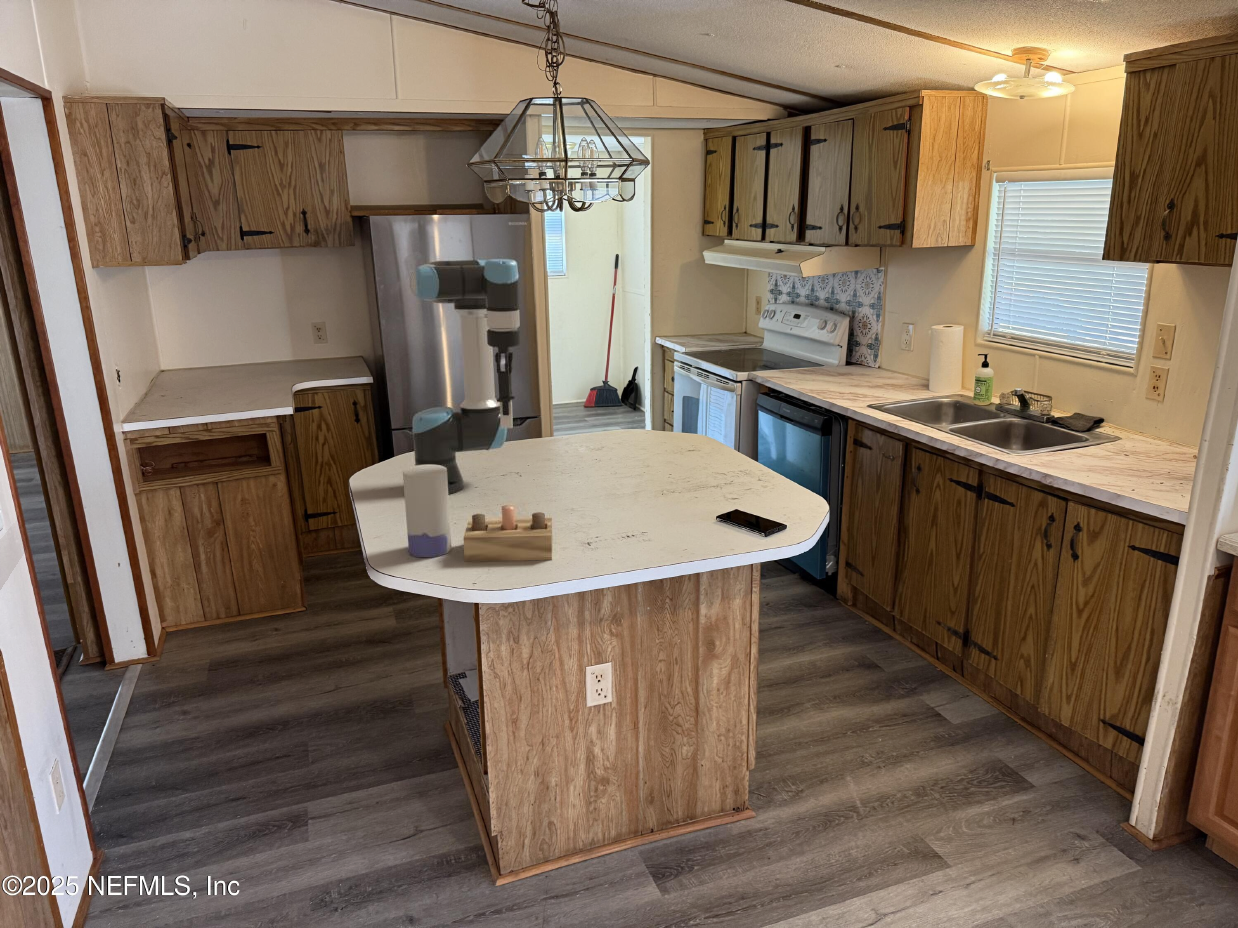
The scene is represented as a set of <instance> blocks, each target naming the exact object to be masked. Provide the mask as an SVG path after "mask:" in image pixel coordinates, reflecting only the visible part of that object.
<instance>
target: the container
mask: <svg viewBox="0 0 1238 928" xmlns="http://www.w3.org/2000/svg"><path fill="white" fill-rule="evenodd" d="M402 479H403V480H402V481H403V491H404V492H403V493H404V505H405V506H404V507H405V518H406V519H405V520H406V533H407V545H408V553H409V554H410V555H411V556H414V557H418V558H434V557H440V556H442V555H445V554H448V553H449V552H450V551H452V549H453V548H452V535H451V534H452V533H451V531H452V529H451V518H450V500H449V499H450V497H449V494H448V481H447V468H445V467H444V466H440V465H417V466H415V465H413V466H409V467H407V468H405V469H403V471H402Z"/></svg>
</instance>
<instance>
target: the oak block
mask: <svg viewBox="0 0 1238 928" xmlns="http://www.w3.org/2000/svg"><path fill="white" fill-rule="evenodd" d="M485 527H486V531H473V526H472V519H468V521H467V525H466V528H465V531H464V535H463V537H462V538H463V551H464V553H463V554H464V562H465V563H473V562H474V563H475V562H476V563H477V562H507V561H508V562H509V561H510V562H511V561H515V562H516V561H536V560H537V561H546V560H549V561H550V560H553V518H552V517H545V529H539V530H533V529H532V517H530V518H529V517H528V518H527V517H525V518H524V517H523V518H522V517H521V518H515V530H503V525H502V518H490V519H489V518H485Z"/></svg>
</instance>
